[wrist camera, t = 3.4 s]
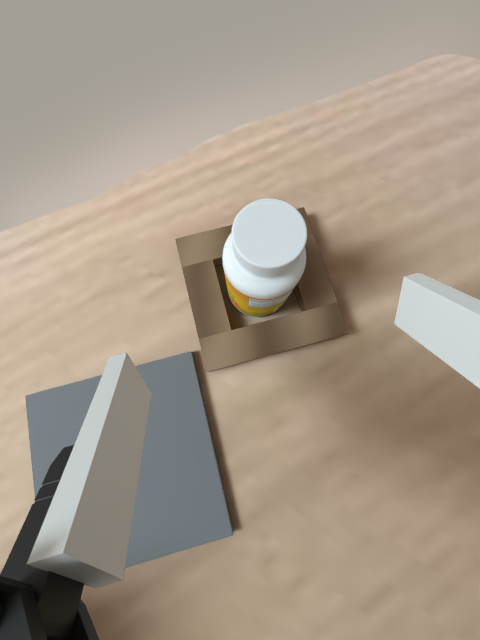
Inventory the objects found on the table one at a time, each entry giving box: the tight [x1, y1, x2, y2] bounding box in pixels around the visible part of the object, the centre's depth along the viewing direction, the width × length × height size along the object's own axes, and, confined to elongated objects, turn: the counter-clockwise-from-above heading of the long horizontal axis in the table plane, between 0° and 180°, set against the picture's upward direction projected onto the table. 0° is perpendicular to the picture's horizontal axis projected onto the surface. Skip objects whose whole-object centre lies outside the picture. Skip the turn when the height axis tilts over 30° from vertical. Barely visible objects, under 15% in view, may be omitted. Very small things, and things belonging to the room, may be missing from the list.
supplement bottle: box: [222, 199, 307, 317], centre depth 17 cm, size 5×5×10 cm
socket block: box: [175, 207, 349, 372], centre depth 21 cm, size 12×12×1 cm
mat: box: [25, 352, 233, 568], centre depth 19 cm, size 14×14×1 cm
